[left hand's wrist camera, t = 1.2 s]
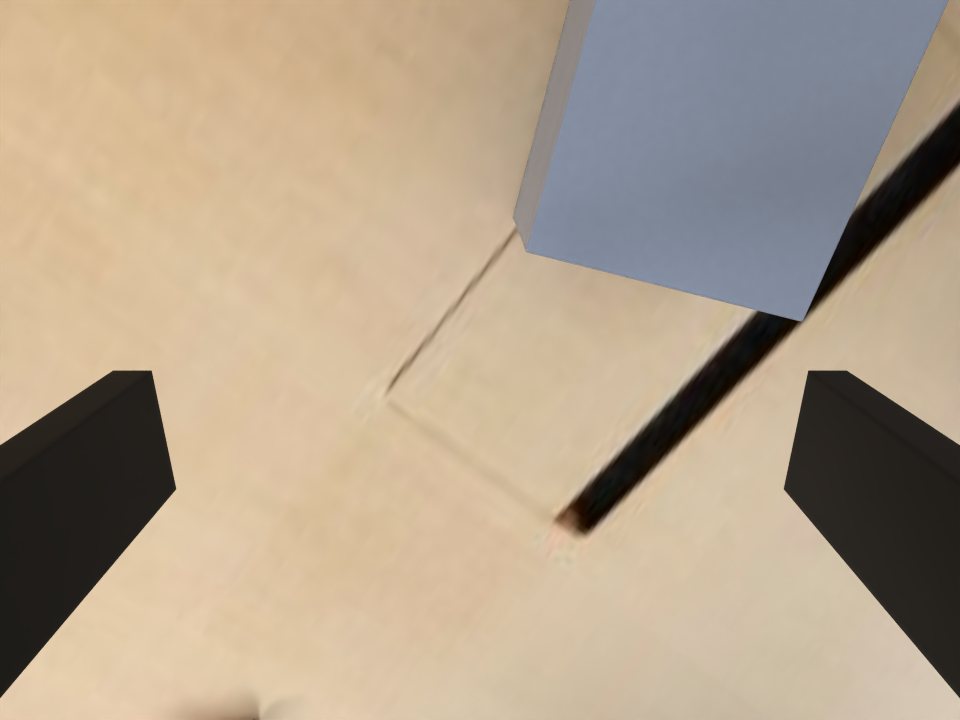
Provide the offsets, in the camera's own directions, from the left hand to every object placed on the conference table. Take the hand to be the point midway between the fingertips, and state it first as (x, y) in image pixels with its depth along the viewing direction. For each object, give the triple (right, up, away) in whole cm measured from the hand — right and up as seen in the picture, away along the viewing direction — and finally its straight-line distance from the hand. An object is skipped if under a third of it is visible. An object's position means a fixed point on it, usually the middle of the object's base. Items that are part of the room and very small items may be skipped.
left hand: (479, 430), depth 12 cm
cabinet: (+10, +16, +17) cm, 25 cm away
